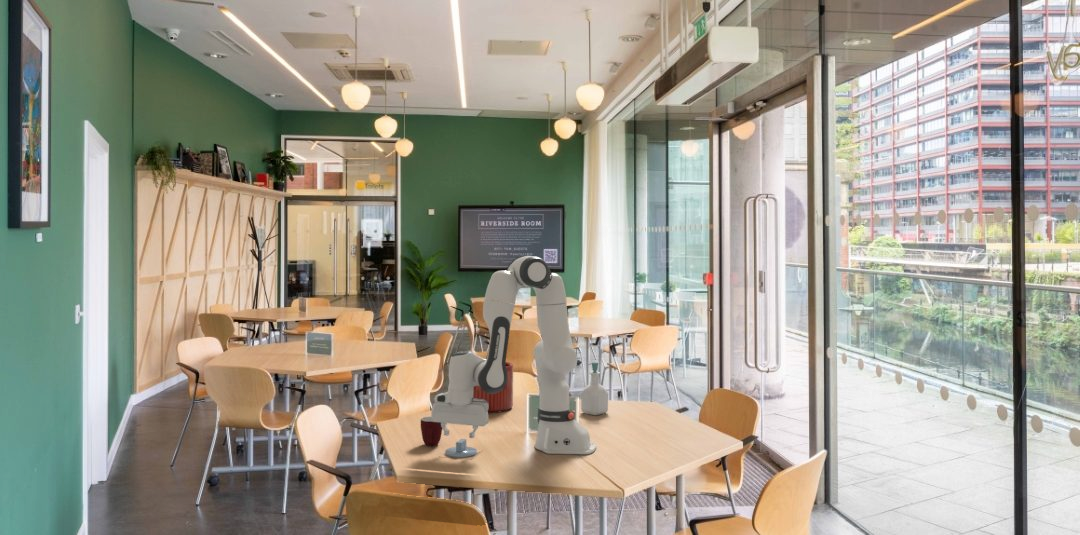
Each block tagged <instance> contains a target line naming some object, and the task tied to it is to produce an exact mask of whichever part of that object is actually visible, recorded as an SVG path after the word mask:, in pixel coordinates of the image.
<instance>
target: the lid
mask: <svg viewBox="0 0 1080 535" xmlns="http://www.w3.org/2000/svg"><path fill="white" fill-rule="evenodd" d="M477 450H478V449H477V448H475V447H471V446H467V439H466V438H459V439H458V440H457V441H456V442H455V446H453V447H449V448H447V449H445V452H444V453H445V454H446V455H447V456H449V457H454V458H453V459H457V458H466V457H472V456H475V455H476V454H477Z"/></svg>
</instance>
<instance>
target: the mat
mask: <svg viewBox="0 0 1080 535" xmlns="http://www.w3.org/2000/svg"><path fill="white" fill-rule="evenodd" d="M483 450H484V449H477V454H476V455H475V456H472V457H466V458H456V459H457V460H458V459H461V460H470V461H471V460H473V459H475V458H476V457H477V456H478V455H479V454H480V453H482V452H483ZM438 457H439V458H448V459H455V458H454V457H449V456H447V455H446V454H445V452H443V453H442V454H440V455H439V456H438Z"/></svg>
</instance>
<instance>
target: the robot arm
mask: <svg viewBox="0 0 1080 535" xmlns="http://www.w3.org/2000/svg"><path fill="white" fill-rule="evenodd" d="M523 287H524V288H530V287H531V288H532V289H533V290H534V293H535V296H536V298H535V299H536V301H535V302H536V305H535V306H536V320H537V327H538V330H539V333H540V335H541V340H540V341H538V342H537V343H536V344H535V346H534V348H533V349H532V350H533V351H532V352H533V353H532V355H533V358H534V361H535V366H536V368H535V369H536V375H537V380H538V389H539V391H538V393H539V394H538V395H539V396H538V399H539V400H538V402H539V403H538V404H539V406H538V408H537V425H538V426H537V434H536V439H535V443H534V446H533V447H534V448H535V449H537V450H539V451H542V452H543V453H545V454H548V455H549V454H550V455H551V454H552V455H554V454H555V455H590V454H593V453H594V452H595V451H596V449H597V445H596V443H594V442H592V441H591V437H590V433H589V431H588V429H587V428H586V427H585V426H583V425H582V424H581V423H579V422H578V421H577V420H576V419H575V414H576V411H575V410H572V409H571V408H570V386H569V383H568V380H567V375H566V374H568V373H571V372H572V371H574V369H575V368H576V366H577V363H578V360H579V359H578V355H577V352H576V350H575V348H574V343H573V340H572V339H573V338H572V336H571V335H572V334H571V331H570V327H569V322H568V321H569V320H568V307H567V305H568V303H567V295H566V287H565V284H564V281H563V278H562V276H561V275H559V274H558V273H555V272H552V271H551V270H550V267H549V266H548V264H547V262H546V261H545V260H544V259H543V258H541V257H538V256H533V255H532V256H531V255H525V256H520V257H519V256H518V257H516V258H514V259H513V260H512V261H511V262H510V263H509V264H508V266H507V267H506V268H505V269H504V270H497V271H495V272H494V273H492V275H491V277H490V279H489V282H488V284H487V287H486V292H485V294H484V300H483V307H482V318H483V320H484V322H485V324H486V325H487V329H488V331H489V344H488V351H487V358H483V357H481V356H480V355H477V354H475V353H474V352H473V351H472V350H468V349H467V350H458V351H456V352H454V353H452V355H451V356H450V358H449V363H448V364H449V366H448V380H449V384H448V386H447V391H444V392H441V393H438V394H437V395H435V396H434V399H433V400H434V403H433V405H432V408H431V415H430V417H431V419H432V421H433V422H441V427H442V432H443V436H445V437H447V436H450V429H448V428H447V426H446V425H447V424H451V425H461V426H462V425H465V426H472V429H473V430H472V431H470V432H469V435H468V437H469V439H475V436H476V432H477V431H478V430H479V427H485V426H487V425H488V424H489V413H488V409H489V404H488V402H487V401H485V399H476V398H473V387H474V386H480V387H481V389H482V390H483V391H485V392H486V393H489V394H495V393H498V392H500V391H501V390H503V389H504V387H505V386H506V384H507V380H508V376H507V371H506V362H507V360H506V359H507V353H508V352H507V351H508V346H509V340H510V330H511V325H512V320H513V315H514V310H515V305H516V300H517V295H518V293H519V291H520V290H521V288H523Z"/></svg>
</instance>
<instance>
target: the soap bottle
mask: <svg viewBox="0 0 1080 535" xmlns="http://www.w3.org/2000/svg"><path fill="white" fill-rule="evenodd" d="M590 365H591V368H592V371H590V372H589V375H590V382H589V384H587V385H586V386H585V387H584V388H583V390H582V391H581V393H580V396H581V397H580V398H581V399H580V400H581V401H580V409H581V412H582V413H583V414H587V415H592V416H598V415H603V414H606V413H608V411H609V393H608V390H607V389H606V388H605V387H604V386H603V385H602V384H601V383H600V381H599V380H600V379H599V375H600V374H601V372H600V371H598V367H599V362H597V361H595V362H591V363H588V366H590Z"/></svg>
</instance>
